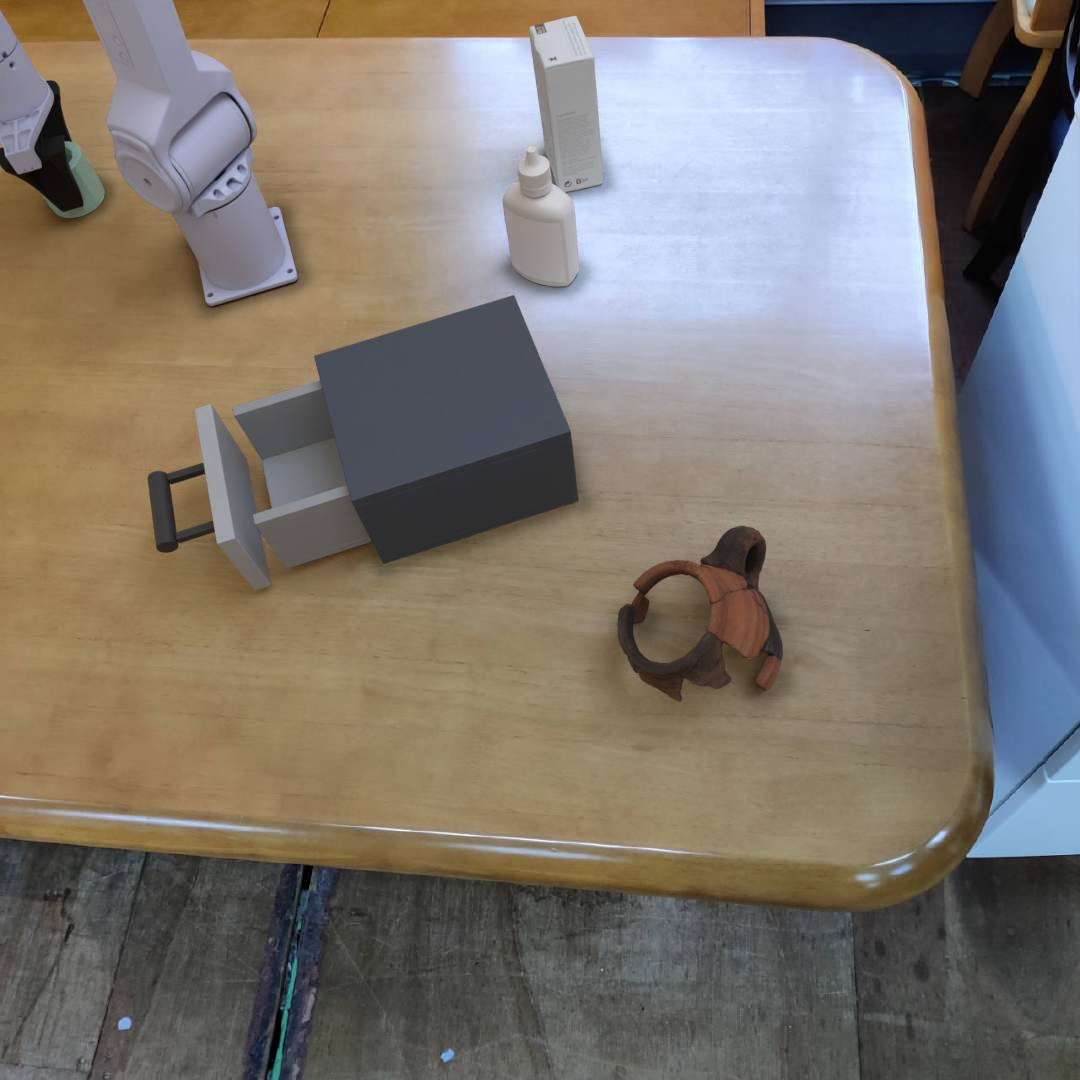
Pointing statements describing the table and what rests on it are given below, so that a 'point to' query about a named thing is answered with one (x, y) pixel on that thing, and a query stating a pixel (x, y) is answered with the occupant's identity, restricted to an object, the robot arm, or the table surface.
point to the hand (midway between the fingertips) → (71, 187)
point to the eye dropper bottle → (541, 225)
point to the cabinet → (447, 429)
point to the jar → (81, 183)
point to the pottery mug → (712, 617)
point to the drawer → (292, 480)
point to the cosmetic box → (567, 102)
